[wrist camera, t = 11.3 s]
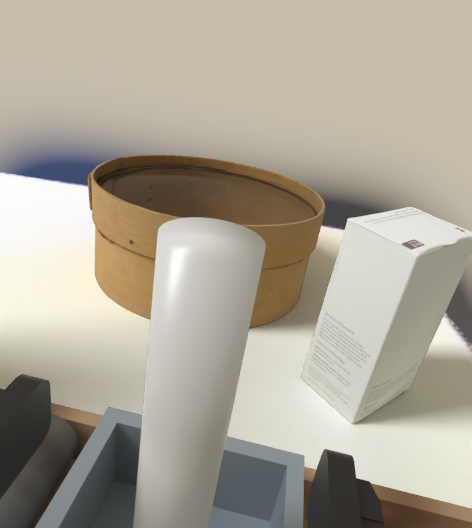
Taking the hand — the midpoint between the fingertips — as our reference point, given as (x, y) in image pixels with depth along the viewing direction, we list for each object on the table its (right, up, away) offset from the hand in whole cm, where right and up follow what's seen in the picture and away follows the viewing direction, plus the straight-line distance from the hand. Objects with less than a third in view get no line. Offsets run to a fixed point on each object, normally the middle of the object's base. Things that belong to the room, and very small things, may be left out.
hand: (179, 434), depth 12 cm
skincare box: (+12, -6, +23) cm, 27 cm away
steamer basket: (-3, +4, +38) cm, 38 cm away
